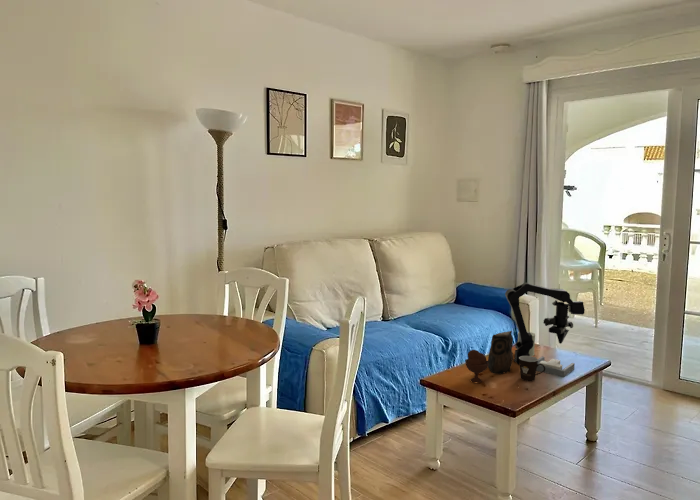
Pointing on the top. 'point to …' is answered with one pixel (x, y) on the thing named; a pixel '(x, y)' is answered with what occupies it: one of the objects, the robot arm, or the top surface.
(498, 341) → the owl
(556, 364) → the t block
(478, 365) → the ice cream bowl
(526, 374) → the coffee mug
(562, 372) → the bay
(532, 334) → the can
